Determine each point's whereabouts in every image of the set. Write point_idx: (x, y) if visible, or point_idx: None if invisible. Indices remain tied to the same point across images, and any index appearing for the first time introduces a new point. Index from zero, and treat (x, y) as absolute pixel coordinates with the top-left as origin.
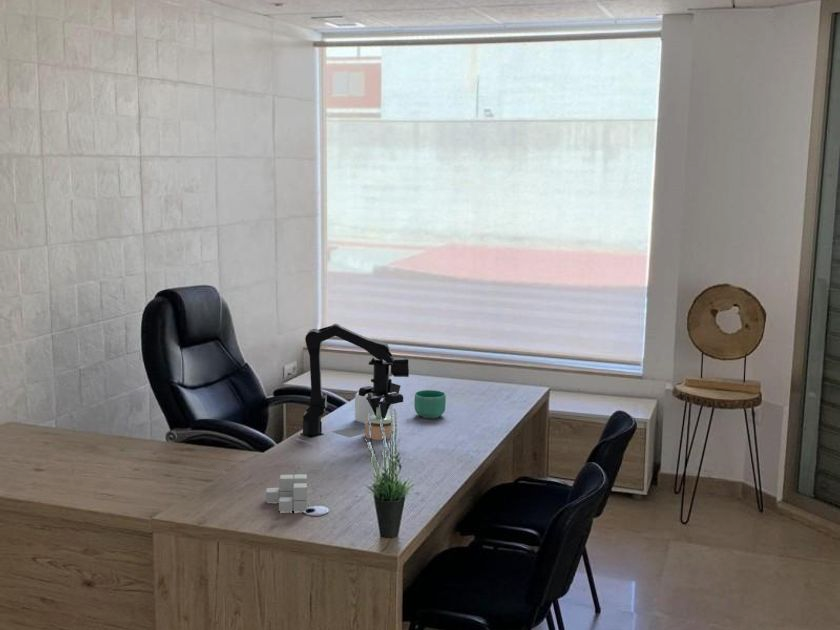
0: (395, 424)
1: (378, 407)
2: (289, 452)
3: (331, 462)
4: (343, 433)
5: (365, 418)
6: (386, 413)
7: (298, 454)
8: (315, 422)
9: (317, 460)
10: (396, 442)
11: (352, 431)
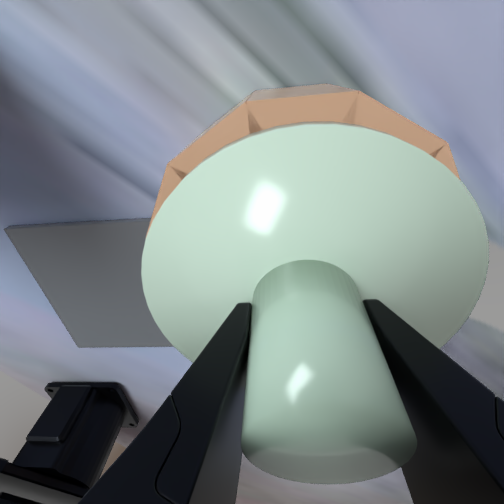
0: (446, 148)
1: (286, 459)
2: (243, 489)
3: (403, 483)
4: (136, 333)
5: None
6: (428, 346)
7: (274, 487)
8: (95, 479)
9: (356, 489)
10: (485, 214)
11: (117, 284)
